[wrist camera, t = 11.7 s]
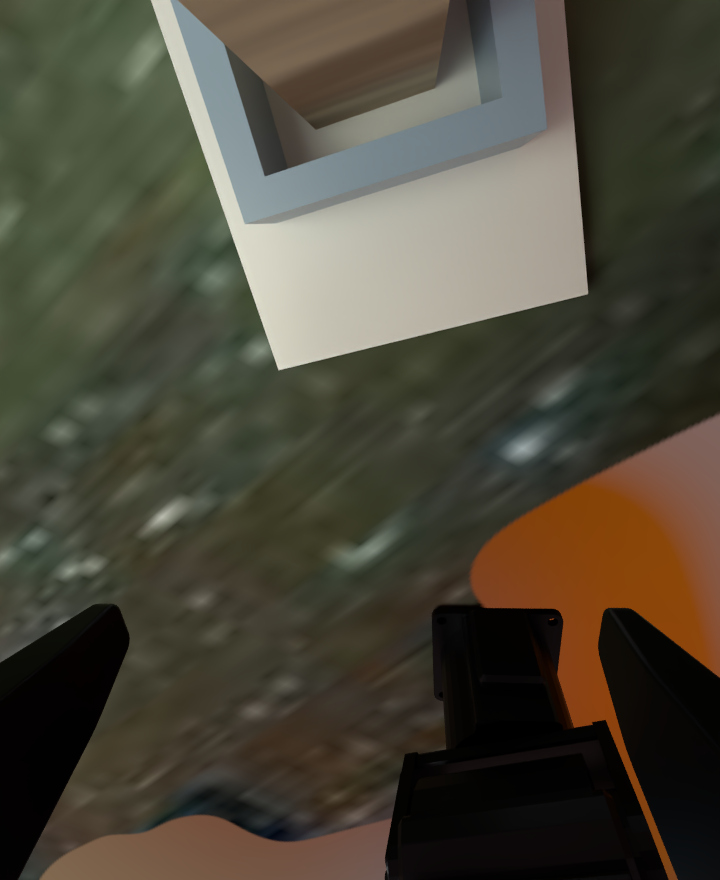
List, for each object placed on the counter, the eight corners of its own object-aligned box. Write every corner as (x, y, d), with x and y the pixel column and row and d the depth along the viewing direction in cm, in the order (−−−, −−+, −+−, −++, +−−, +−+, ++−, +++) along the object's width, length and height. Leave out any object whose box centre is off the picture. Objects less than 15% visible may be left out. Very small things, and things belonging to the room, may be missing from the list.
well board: (579, 290, 18) (627, 310, 14) (284, 363, 21) (252, 399, 16) (532, -235, 13) (588, -444, 9) (143, -55, 15) (44, -156, 11)
